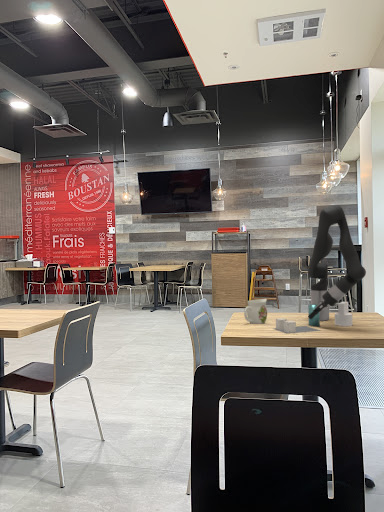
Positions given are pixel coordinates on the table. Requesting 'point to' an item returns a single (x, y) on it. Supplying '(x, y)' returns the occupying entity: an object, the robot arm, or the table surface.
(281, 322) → the cream cube
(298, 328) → the slate board
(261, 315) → the pitcher
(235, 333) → the table surface
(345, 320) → the base with upright slab
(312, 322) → the teal glass cylinder
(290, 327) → the cream cube
